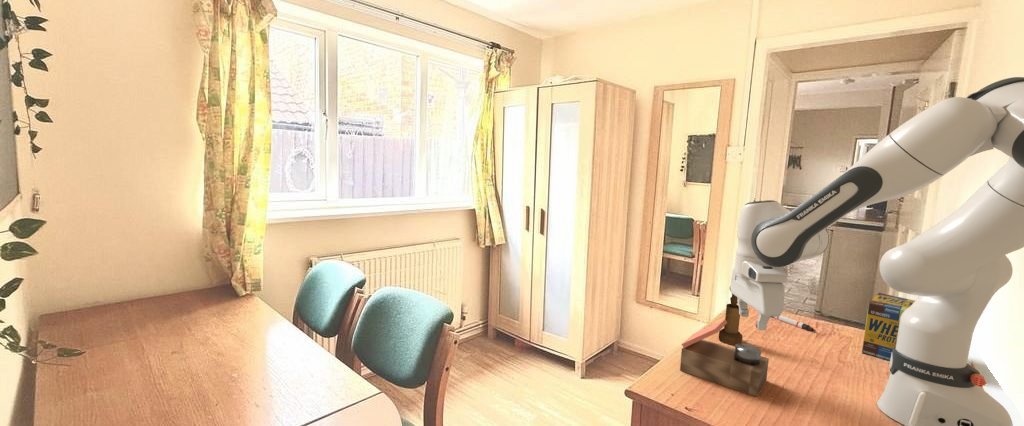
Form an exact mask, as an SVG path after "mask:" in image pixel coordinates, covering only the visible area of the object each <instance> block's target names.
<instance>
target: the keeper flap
mask: <svg viewBox="0 0 1024 426" xmlns="http://www.w3.org/2000/svg"><path fill="white" fill-rule="evenodd" d="M726 324H727V321H726V320H725V319H723V320H720V321H718V322H716V323H714V324H712V325H710V326H707V327H705V328H703V329H702V330H699V331H697V332H695V333H693V334H691V335H690V336H689V337H688V338H686V340H684V342H682V343H681V346H682V348H683V347H687V346H689V345H691V344H693V343H695V342H698V341H700V340H702V339H703V340H705V339H706V338H708V337H711V336H714V335H715V334H717V333H718V334H719V331H720V330H722V329H724V326H725V325H726Z"/></svg>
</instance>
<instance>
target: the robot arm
mask: <svg viewBox="0 0 1024 426" xmlns="http://www.w3.org/2000/svg"><path fill="white" fill-rule="evenodd" d="M994 148H995V149H996V150H998V151H1001V152H1002V153H1004V154H1005V155H1006V156H1008V157H1009V158H1008V159H1007V162H1006V163H1005V164H1004V165H1003V166H1002V167H1001V168H999V169H998V170H997V171H996V172H994V174H993V175H992V176H991V177H989V179H988V180H987V181H986V182H984V183H983V185H982V186H981V187H979V188H978V189H977V190H976V191H975V192H974V193H973V194H972V195H971V196H970V197H969V198H968V199H967V200H965V202H963V204H962V205H960V207H958V208H957V209H955V210H954V211H953V212H952V213H951V214H949V215H948V216H947V217H945V218H944V219H942V220H941V221H939V222H938V223H936V224H934V225H933V226H931V227H929V228H928V229H926V230H925V231H923V232H922V233H920V234H919V235H918V236H916V237H914V238H913V239H911V240H908V241H906V242H905V243H903V244H900V245H898V246H896V247H893V248H890V249H888V250H887V251H885V253H884V254H883V255H882V257H881V259H880V261H879V268H878V269H879V274H880V276H881V278H882V280H883V282H884V283H885V284H886V285H887V286H888V287H889V288H891V289H892V290H895V291H897V292H899V293H903V294H907V295H914V296H917V297H916V299H914V300H915V302H914V303H913V304H912V305H911V306H910V307H909V308H907V309H906V310H905V311H904V312H903V313H902V315H901V317H900V323H899V329H898V336H897V342H896V346H894V347H893V351H892V353H891V359H890V361H889V372H890V374H889V377H888V379H887V382H886V385H885V388H884V390H883V392H882V394H881V396H880V397H879V399H878V401H876V402H877V404H876V405H877V407H878V408H879V410H880V411H882V413H883V414H884V415H886V416H888V418H891V419H893V420H894V421H896V422H898V423H900V424H901V425H903V426H1014V425H1013V424H1014V423H1013V420H1012V417H1011V415H1010V414H1009V411H1008V410H1007V409H1006V408H1005V407H1004V406H1003V405H1002V404H1001V403H1000V402H999V401H998V400H997V399H995V398H994V397H993V396H992V395H990V394H989V393H988V392H986V391H985V390H984V389H983V388H982V387H985V386H986V384H987V382H986V379H985V376H983V375H981V373H980V371H979V370H977V369H976V367H975V365H973V364H969V363H968V359H969V354H970V348H971V344H972V339H973V335H974V332H975V328H976V327H977V324H978V322H979V320H980V319H981V317H982V314H983V313H984V311H985V309H986V307H987V306H988V305H989V302H990V301H991V299H992V298H993V297H994V295H995V294H996V293H997V292H998V291H999V290H1000V289H1001V288H1002V287H1004V286H1005V285H1007V284H1008V283H1009V282H1010V280H1011V279H1012V277H1013V271H1014V269H1013V265H1012V263H1011V260H1010V259H1009V258H1008V256H1007V255H1008V254H1010V253H1013V252H1016V251H1018V250H1021V249H1023V248H1024V76H1015V77H1008V78H1003V79H999V80H998V81H995V82H992V83H990V84H988V85H986V86H984V87H982V88H981V89H979V90H978V91H975V92H973V93H970V94H968V96H967V97H962V96H953V97H948V98H944V99H943V100H940V101H938V102H937V103H934V104H933V105H931V106H930V107H928V108H926V109H924V110H923V111H921V112H919V113H917V114H916V115H914V116H913V117H911V118H910V119H908V120H907V121H905V122H904V123H902V124H900V126H898V127H897V128H895V129H894V130H893V131H891V132H890V133H889V134H888V135H886V136H885V137H884V138H882V139H881V140H880V141H879V142H878V143H877V144H875V145H874V146H873V147H872V148H871V149H870V150H868V151H867V152H866V153H865V154H864V155H863V156H861V157H860V158H859V159H858V160H857V161H856V162H855V163H854V164H853V165H851V166H850V167H849V168H848V169H846V170H845V171H844V172H842V174H840V176H838V177H837V178H835V180H833V181H832V182H830V183H828V185H826V186H825V187H823V188H821V190H819V191H818V192H816V193H814V194H813V195H812V196H810V197H809V198H808V199H807V200H805V201H803V202H801V204H799V205H797V206H796V207H795V208H793V209H792V210H789V209H788V208H786V207H785V206H783V205H782V204H781V203H780V202H778V201H777V200H774V199H770V200H768V199H767V200H758V201H749V202H747V203H745V204H744V205H743V206H742V207H741V209H740V212H739V216H738V221H737V230H736V238H737V241H738V243H737V244H738V245H737V248H736V251H735V264H734V267H733V269H732V272H731V276H730V278H731V279H730V286H729V290H730V289H731V291H730V292H731V295H732V294H734V295H735V296H737V298H738V300H737V301H738V303H737V305H738V306H739V314H740V317H742V318H748V317H749V315H750V314H749V313H750V310H749V307H751V308H752V309H754V310H755V311H757V312H758V313H757V316H758V319H757V320H755V328H756V329H757V330H759V331H763V332H764V331H767V327H768V322H769V321H770V319H771V318H772V317H779V316H780V315H782V314H783V310H784V303H785V302H784V301H785V285H784V284H786V283H787V282H788V274H787V272H786V271H785V270H784V269H783V267H787V266H789V265H792V264H795V263H799V262H803V261H806V260H811V259H813V258H817V257H818V256H821V255H822V254H823V253H824V252H825V251H826V250H827V248H828V245H829V242H830V236H829V232H828V230H827V228H829V227H831V226H832V225H833V224H835V223H836V222H838V221H840V220H841V219H843V218H844V217H846V216H848V215H849V214H851V213H853V212H855V211H857V210H859V209H862V208H864V207H865V208H866V207H868V206H871V205H875V204H878V203H884V202H888V201H891V200H896V199H900V198H903V197H906V196H908V195H910V194H913V193H915V192H917V191H919V190H921V189H923V188H925V187H927V186H929V185H930V184H933V183H934V182H936V181H937V180H939V179H941V178H942V177H944V176H945V175H947V174H948V173H949V172H951V171H952V170H954V169H955V168H957V167H958V166H960V164H962V163H963V162H965V161H966V160H967V159H968V158H970V157H973V156H974V155H977V154H980V153H982V152H986V151H990V150H994ZM770 316H772V317H770Z"/></svg>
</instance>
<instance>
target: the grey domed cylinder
mask: <svg viewBox="0 0 1024 426" xmlns="http://www.w3.org/2000/svg"><path fill="white" fill-rule="evenodd" d="M734 349H735V353H734V358H735V359H736V360H737V361H739V362H741V363H744V364H747V365H752V366H753V365H758V364H760V356H762V355H761V353H762V350H761V349H760V348H759V347H758V346H755V345H753V344H749V343H743V342H742V343H739V344H736V345H734Z"/></svg>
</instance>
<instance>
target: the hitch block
mask: <svg viewBox="0 0 1024 426" xmlns="http://www.w3.org/2000/svg"><path fill="white" fill-rule="evenodd" d="M734 353H735V347H730V346H728V345H727V346H726V345H724V344H720V343H716V342H713V341H708V340H705V339H702V340H700V341H698V342H695V343H693V344H691V345H689V346H687V347H683V346H682V348H681V353H680V354H681V355H680V364H679V366H680V367H679V371H680V372H684V373H686V374H688V375H689V374H690V375H692V376H696V377H698V378H700V379H704V380H706V381H710V382H712V383H715V384H718V385H722V386H724V387H728V388H730V389H733V390H736V391H738V392H743V393H745V394H748V395H751V396H754V397H758V396H759V395H760V392H761V391H762V390H763V388H764V386H765V385H766V382H767V377H768V368H769V360H770V358H768V357H765V356H762V355H761V356H760V364H758V365H753V366H752V365H747V364H744V363H741V362H739V361H737V360H736V359H735V358H734Z"/></svg>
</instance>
